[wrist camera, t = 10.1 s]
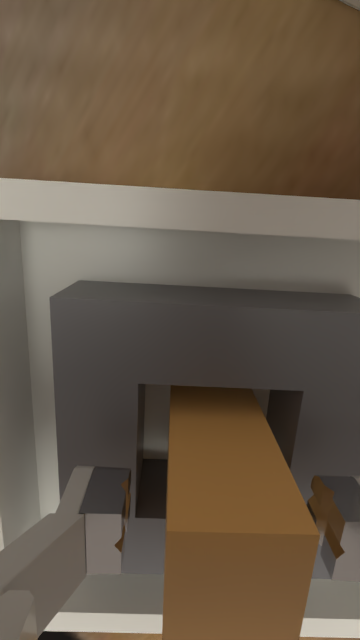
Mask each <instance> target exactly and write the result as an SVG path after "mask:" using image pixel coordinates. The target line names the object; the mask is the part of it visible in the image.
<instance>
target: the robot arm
mask: <svg viewBox="0 0 360 640" xmlns="http://www.w3.org/2000/svg"><path fill="white" fill-rule="evenodd" d="M130 485H131V468H116V467H99V466H95V467H94V466H76V467H75V468H74V470H73V472H72V474H71V477H70V479H69V481H68V484H67V486H66V489H65V491H64V493H63V496H62V498H61V501H60V503H59V505H58V508H57V510H56V513H49V514H48V515H46V516H45V517H44V518H43V519H41V520H40V521H39V522H37V523H36V524H35V525H34V526H32V527H31V528H30V529H28V530H27V531H26V532H25V533H23V534H22V535H21V536H20V537H18V538H17V539H16V540H14V541H13V542H12V543H11V544H9V545H8V546H7V547H5V548H4V549H3V550H2V551H0V640H37V638H38V637H39V636H40V634H41V633H42V632H43V631H44V629H45V628H46V627H47V626H48V624H49V623H50V622H51V620H52V619H53V618H54V617H55V615H56V614H57V613H58V612H59V610H60V609H61V608H62V607H63V605H64V604H65V603H66V601H67V600H68V599H69V598H70V596H71V595H72V594H73V593H74V591H75V590H76V589H77V588H78V586H79V585H80V584H81V583H82V581H83V580H84V579H85V577H86V575H99V574H121V571H122V564H123V558H124V552H125V535H126V534H127V533H128V526H129V517H130V505H131V494H130V492H129V491H130ZM310 487H311V489H312V491H313V493H314V495H313V496H312V497H311V498H310V499H309V500H308V502H307V508H308V510H309V512H310V514H311V516H312V518H313V520H314V522H315V525H316V527H317V529H318V531H319V533H320V539H319V544H320V545H321V546H322V548H321V553H320V555H321V558H322V560H323V562H324V564H325V567H326V569H327V571H328V573H329V576H330V578H331V580H337V581H354V582H360V476H324V475H314V477H313V479H312V482H311V486H310Z"/></svg>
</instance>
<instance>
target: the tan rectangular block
mask: <svg viewBox="0 0 360 640" xmlns="http://www.w3.org/2000/svg"><path fill="white" fill-rule="evenodd" d="M319 539H320V533H319V531H318V529H317V527H316V525H315V522H314V520H313V518H312V516H311V514H310V512H309V510H308V508H307V505H306V503H305V501H304V499H303V497H302V495H301V493H300V491H299V488H298V486H297V484H296V482H295V480H294V478H293V476H292V473H291V471H290V469H289V467H288V465H287V463H286V461H285V459H284V456H283V454H282V452H281V450H280V448H279V446H278V444H277V442H276V439H275V437H274V435H273V433H272V431H271V429H270V427H269V424H268V422H267V420H266V418H265V416H264V414H263V412H262V410H261V407H260V405H259V403H258V401H257V399H256V397H255V395H254V393H253V390H252V389H246V388H224V387H201V386H178V385H170V409H169V432H168V461H167V493H166V525H165V556H164V588H163V620H162V640H299V637H300V632H301V627H302V622H303V618H304V613H305V608H306V603H307V598H308V593H309V588H310V583H311V578H312V573H313V568H314V563H315V558H316V554H317V549H318V544H319Z"/></svg>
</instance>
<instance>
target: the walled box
mask: <svg viewBox="0 0 360 640" xmlns="http://www.w3.org/2000/svg"><path fill="white" fill-rule="evenodd" d="M170 385H178V386H201V387H224V388H246V389H252V390H253V393H254V395H255V397H256V399H257V401H258V403H259V405H260V407H261V410H262V412H263V414H264V416H265V418H266V420H267V422H268V424H269V427H270V429H271V431H272V433H273V435H274V437H275V439H276V442H277V444H278V446H279V448H280V450H281V452H282V454H283V456H284V459H285V461H286V463H287V465H288V467H289V469H290V471H291V473H292V476H293V478H294V480H295V482H296V484H297V486H298V488H299V491H300V493H301V495H302V497H303V499H304V501H305V503H306V505H307V502H308V500H309V499H310V498H311V497H312V496H313V495H314V493H313V491H312V489H311V487H310V486H311V482H312V479H313V477H314V475H324V476H360V200H353V199H337V198H320V197H304V196H288V195H271V194H255V193H239V192H222V191H206V190H190V189H173V188H157V187H140V186H124V185H108V184H91V183H75V182H59V181H42V180H26V179H10V178H0V551H2V550H3V549H4V548H5V547H7V546H8V545H9V544H11V543H12V542H13V541H14V540H16V539H17V538H18V537H20V536H21V535H22V534H23V533H25V532H26V531H27V530H28V529H30V528H31V527H32V526H34V525H35V524H36V523H37V522H39V521H40V520H41V519H43V518H44V517H45V516H46V515H48V514H49V513H56V510H57V508H58V505H59V503H60V501H61V498H62V496H63V493H64V491H65V489H66V486H67V484H68V481H69V479H70V477H71V474H72V472H73V470H74V468H75V467H76V466H94V467H95V466H99V467H116V468H131V485H130V491H129V492H130V494H131V505H130V517H129V526H128V533H127V534H126V535H125V552H124V558H123V564H122V571H121V574H99V575H86V577H85V579H84V580H83V581H82V583H81V584H80V585H79V586H78V588H77V589H76V590H75V591H74V593H73V594H72V595H71V596H70V598H69V599H68V600H67V601H66V603H65V604H64V605H63V607H62V608H61V609H60V610H59V612H58V613H57V614H56V615H55V617H54V618H53V619H52V620H51V622H50V623H49V624H48V626H47V627H46V628H45V629H44V631H72V632H117V633H162V620H163V588H164V556H165V525H166V493H167V461H168V432H169V409H170ZM321 548H322V546H321V545H320V544H318V549H317V554H316V558H315V563H314V568H313V573H312V578H311V583H310V588H309V593H308V598H307V603H306V608H305V613H304V618H303V622H302V627H301V632H300V637H340V638H360V582H354V581H337V580H331V578H330V576H329V573H328V571H327V569H326V567H325V564H324V562H323V560H322V558H321V555H320V553H321Z"/></svg>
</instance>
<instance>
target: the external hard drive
mask: <svg viewBox="0 0 360 640" xmlns="http://www.w3.org/2000/svg"><path fill="white" fill-rule="evenodd" d="M339 1H341V2H343V3H345V4H347V5H349V6H351V7H353V8H355V9H357V10H359V11H360V0H339Z"/></svg>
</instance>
